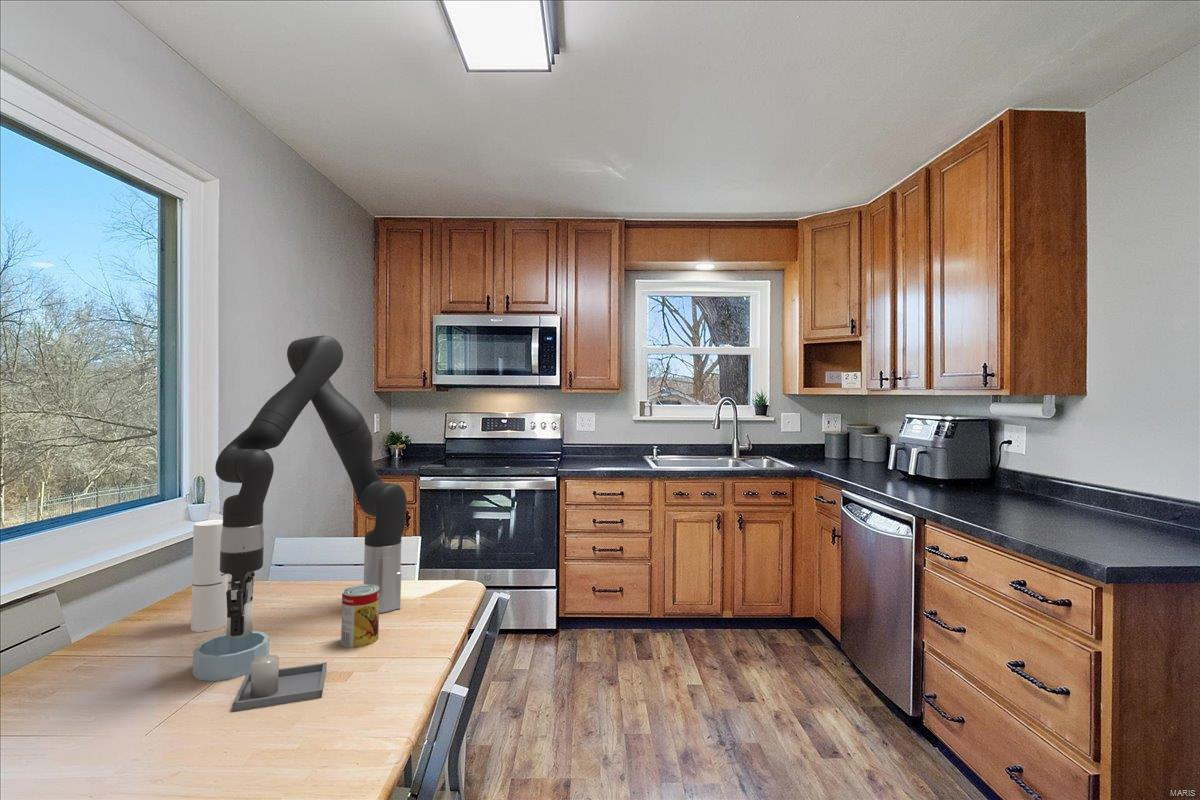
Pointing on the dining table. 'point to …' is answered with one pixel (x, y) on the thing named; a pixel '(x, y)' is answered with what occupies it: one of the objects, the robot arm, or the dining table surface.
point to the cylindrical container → (208, 578)
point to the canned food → (360, 615)
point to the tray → (286, 687)
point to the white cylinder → (264, 676)
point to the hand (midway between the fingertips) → (239, 630)
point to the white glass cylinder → (246, 621)
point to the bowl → (228, 656)
